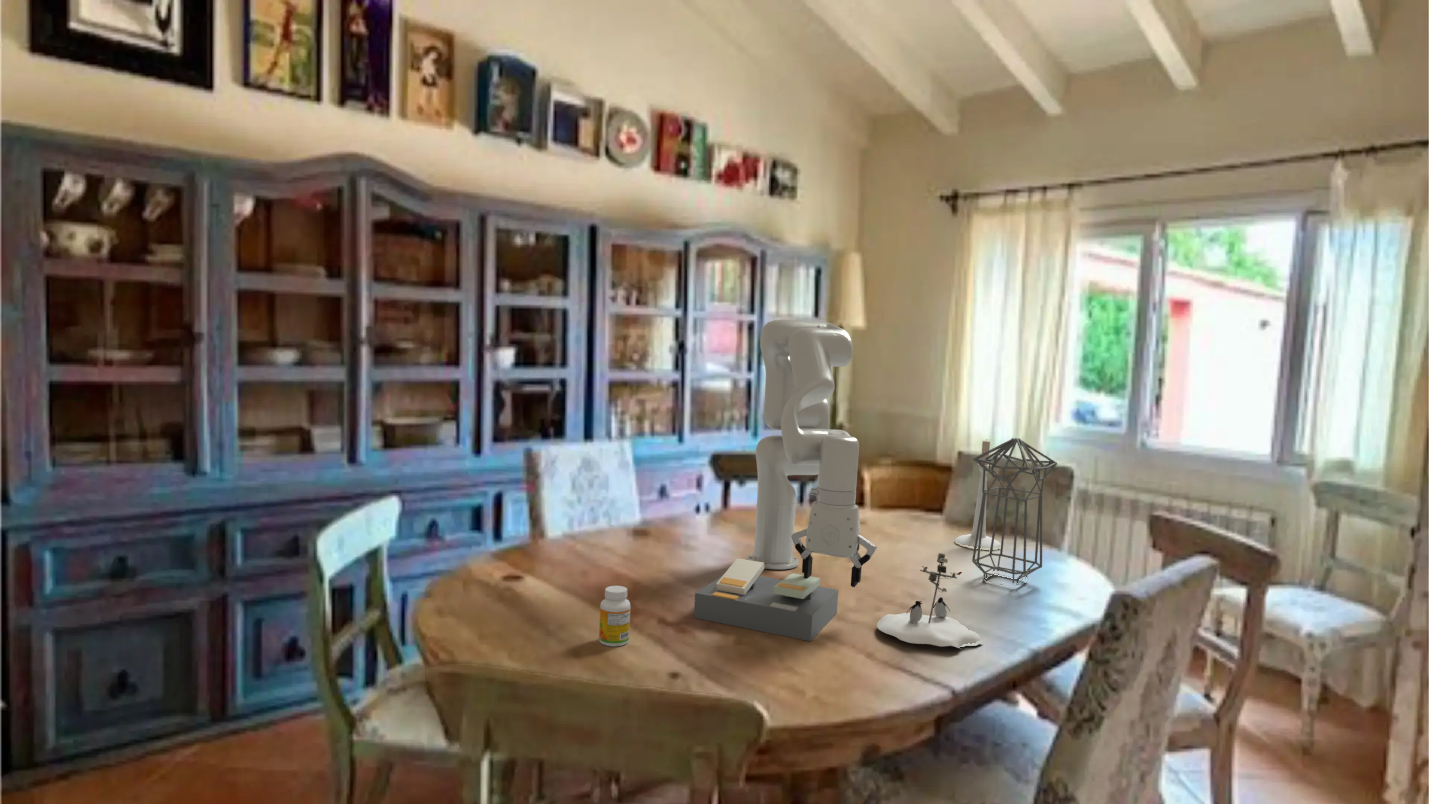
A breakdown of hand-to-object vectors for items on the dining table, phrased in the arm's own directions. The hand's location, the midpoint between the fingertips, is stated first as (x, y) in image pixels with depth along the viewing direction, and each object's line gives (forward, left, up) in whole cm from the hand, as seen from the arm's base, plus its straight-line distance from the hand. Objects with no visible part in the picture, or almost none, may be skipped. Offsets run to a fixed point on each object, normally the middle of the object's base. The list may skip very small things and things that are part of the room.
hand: (830, 581), depth 170 cm
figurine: (-1, +20, -8) cm, 21 cm away
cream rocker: (+5, -17, -1) cm, 18 cm away
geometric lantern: (-48, +30, -8) cm, 57 cm away
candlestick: (-83, +20, -8) cm, 86 cm away
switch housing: (+5, -11, -8) cm, 15 cm away
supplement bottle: (+33, -30, -8) cm, 45 cm away
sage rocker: (+5, -5, -1) cm, 7 cm away
